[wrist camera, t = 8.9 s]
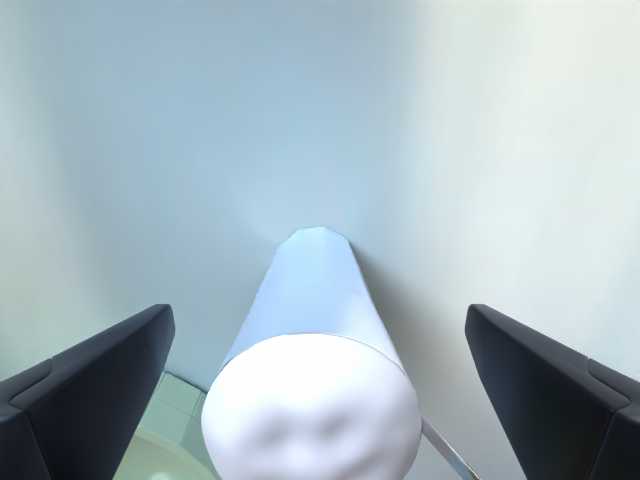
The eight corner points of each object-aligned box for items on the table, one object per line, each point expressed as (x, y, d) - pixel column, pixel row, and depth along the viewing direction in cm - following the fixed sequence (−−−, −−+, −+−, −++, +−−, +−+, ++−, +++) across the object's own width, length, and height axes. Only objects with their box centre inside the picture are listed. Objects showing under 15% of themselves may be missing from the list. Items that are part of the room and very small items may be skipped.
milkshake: (395, 304, 16) (496, 601, 7) (269, 317, 16) (202, 619, 7) (390, 200, 14) (516, 406, 5) (250, 216, 15) (129, 440, 5)
